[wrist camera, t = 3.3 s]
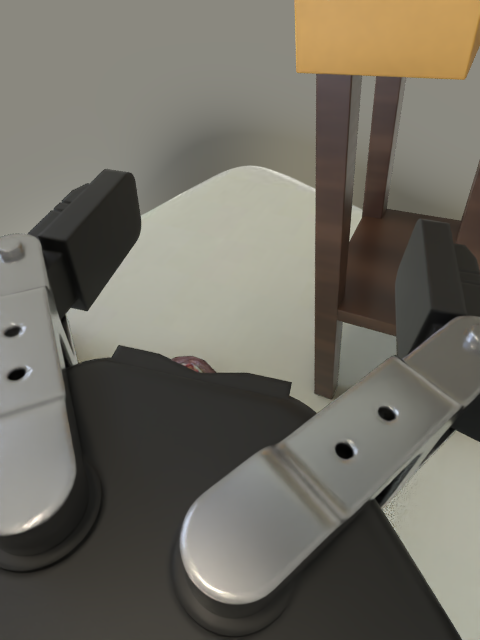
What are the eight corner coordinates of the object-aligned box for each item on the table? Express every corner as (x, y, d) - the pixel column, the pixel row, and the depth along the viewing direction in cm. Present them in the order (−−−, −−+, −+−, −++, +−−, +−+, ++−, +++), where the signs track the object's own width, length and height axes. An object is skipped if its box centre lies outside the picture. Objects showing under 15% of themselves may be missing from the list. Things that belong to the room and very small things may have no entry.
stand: (420, 430, 38) (596, -18, 14) (314, 393, 42) (316, -8, 18) (449, 321, 46) (594, -87, 22) (357, 298, 50) (397, -69, 26)
